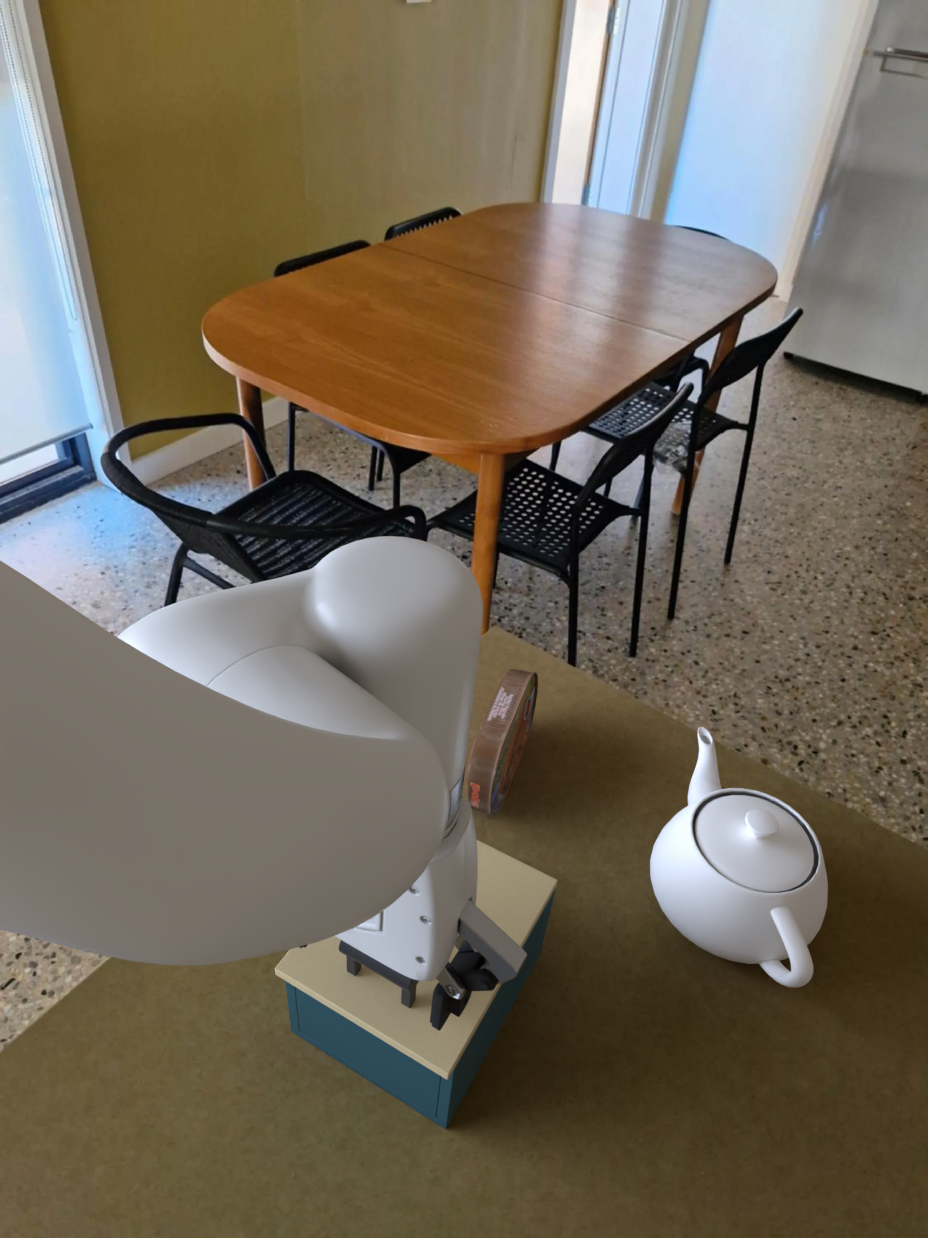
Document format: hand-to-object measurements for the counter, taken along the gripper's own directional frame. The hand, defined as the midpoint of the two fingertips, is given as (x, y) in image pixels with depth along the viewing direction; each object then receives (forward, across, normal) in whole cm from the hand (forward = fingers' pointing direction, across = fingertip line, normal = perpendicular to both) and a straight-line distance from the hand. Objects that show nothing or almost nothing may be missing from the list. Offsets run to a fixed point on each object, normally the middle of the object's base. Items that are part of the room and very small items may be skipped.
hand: (378, 967), depth 54 cm
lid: (+3, 0, +5) cm, 6 cm away
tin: (+12, -5, +28) cm, 31 cm away
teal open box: (+12, 0, +6) cm, 13 cm away
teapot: (+12, +17, +26) cm, 33 cm away
